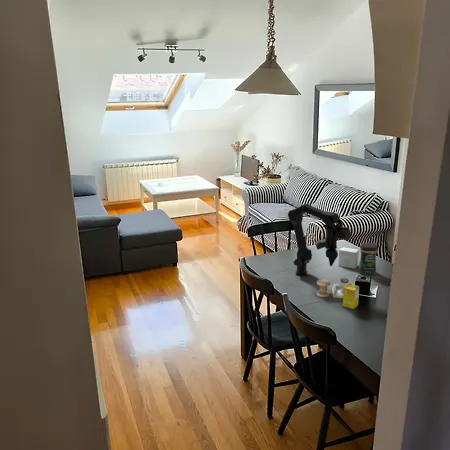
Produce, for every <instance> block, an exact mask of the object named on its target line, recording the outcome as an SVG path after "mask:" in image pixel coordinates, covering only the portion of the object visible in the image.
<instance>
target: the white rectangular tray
mask: <svg viewBox="0 0 450 450" xmlns="http://www.w3.org/2000/svg"><path fill="white" fill-rule="evenodd" d="M331 290H332V298H336V299H337V298H338V299H341V298H342V299H343V293H341V292H340V284H336V283H335V284H333V286H332V287H331Z"/></svg>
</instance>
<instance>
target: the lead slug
mask: <svg viewBox="0 0 450 450" xmlns="http://www.w3.org/2000/svg"><path fill="white" fill-rule="evenodd" d="M339 281H340V283H339V285H340V292H341V293H343V287H345V286H346V285H347V284H348V283H349V281H350V280H349V279H348V278H345V277H343V278H340V279H339Z"/></svg>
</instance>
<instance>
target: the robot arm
mask: <svg viewBox="0 0 450 450" xmlns="http://www.w3.org/2000/svg"><path fill="white" fill-rule="evenodd" d="M305 213H306V214H307V215H310V216H313V217H315V218H317V219H319V220H321V221H322V222H323V223H324V225H323V226H322V227H323V228H325V232H326V233H325V238H324V239H321V240H317V241H315V243H314V244H315V247H316V249H317V250H320V249H323V248H325V257H326V258H328V262H329V263H328V264H329V267H333V265H334V263H335V262H336V259H337V258H339V250H337V249H338V246H337V244H338V239H340V240H344V241H349V240H350V238H351V236H352V231H351V229H350V227H348V226H344V224H343V221H342V220H341V217H340V215H339V214H338V213H337V212H334V211H324V210H322V209H320V208H317V207H315V206H314V205H313V206H312V205H310V204H309V203H304V204H301V205H300V206H299V207H297V208H294V209H290V210H289V211H288V213H287V217H288V220H289V222H290V223H291V224H292V226H293V231H294V236H295V241H296V244H297V245H296V246H297V252H296V259H294V261H292V262H293V265H294V266H296V271H295V276H304V277H305V276H308V270H307V267H308V265H307V264H309V263H310V261H311V260H312V258H313V254H312V249H309V248H308V247H307V242H306V238H305V234H304V229H303V219H304V216H303V215H305Z"/></svg>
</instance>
